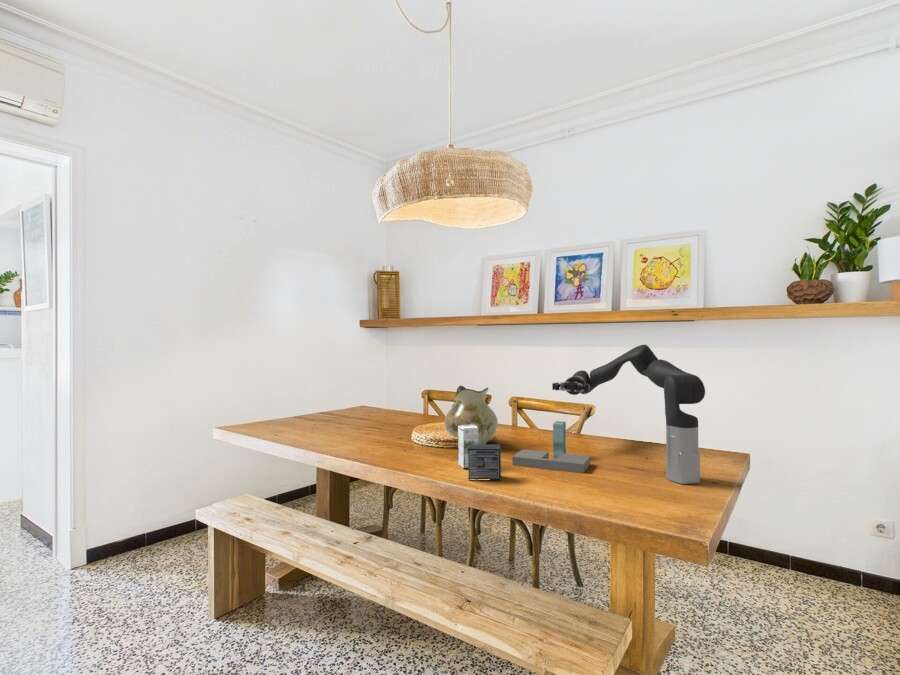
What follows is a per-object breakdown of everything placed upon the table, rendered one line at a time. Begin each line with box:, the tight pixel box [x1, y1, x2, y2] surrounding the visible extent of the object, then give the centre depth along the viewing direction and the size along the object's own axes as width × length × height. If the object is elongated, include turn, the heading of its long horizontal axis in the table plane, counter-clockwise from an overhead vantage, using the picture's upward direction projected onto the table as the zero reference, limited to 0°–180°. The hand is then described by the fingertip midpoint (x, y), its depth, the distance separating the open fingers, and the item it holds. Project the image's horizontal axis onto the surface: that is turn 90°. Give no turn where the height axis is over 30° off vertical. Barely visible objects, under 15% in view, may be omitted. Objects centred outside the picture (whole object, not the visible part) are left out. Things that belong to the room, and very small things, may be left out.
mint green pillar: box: [552, 420, 567, 459], centre depth 182 cm, size 6×4×13 cm, turn 155°
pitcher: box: [444, 385, 498, 445], centre depth 202 cm, size 22×24×25 cm
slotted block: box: [511, 448, 591, 474], centre depth 171 cm, size 12×25×3 cm, turn 64°
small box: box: [467, 444, 502, 481], centre depth 155 cm, size 11×6×10 cm, turn 84°
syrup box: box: [457, 425, 478, 469], centre depth 169 cm, size 6×6×14 cm
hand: (567, 388), depth 186 cm, fingers open, 8 cm apart
